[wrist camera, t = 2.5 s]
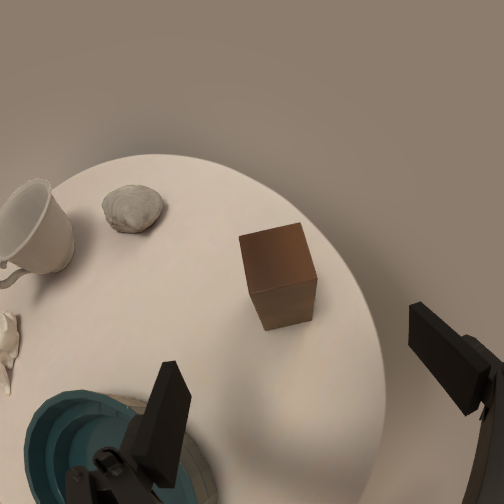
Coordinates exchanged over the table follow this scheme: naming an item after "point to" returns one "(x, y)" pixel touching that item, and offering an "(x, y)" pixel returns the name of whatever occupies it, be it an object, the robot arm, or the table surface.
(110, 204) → the pebble
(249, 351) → the table surface
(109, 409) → the bowl
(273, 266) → the walnut block
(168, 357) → the table surface
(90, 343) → the table surface
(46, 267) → the teacup
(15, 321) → the rabbit figurine
